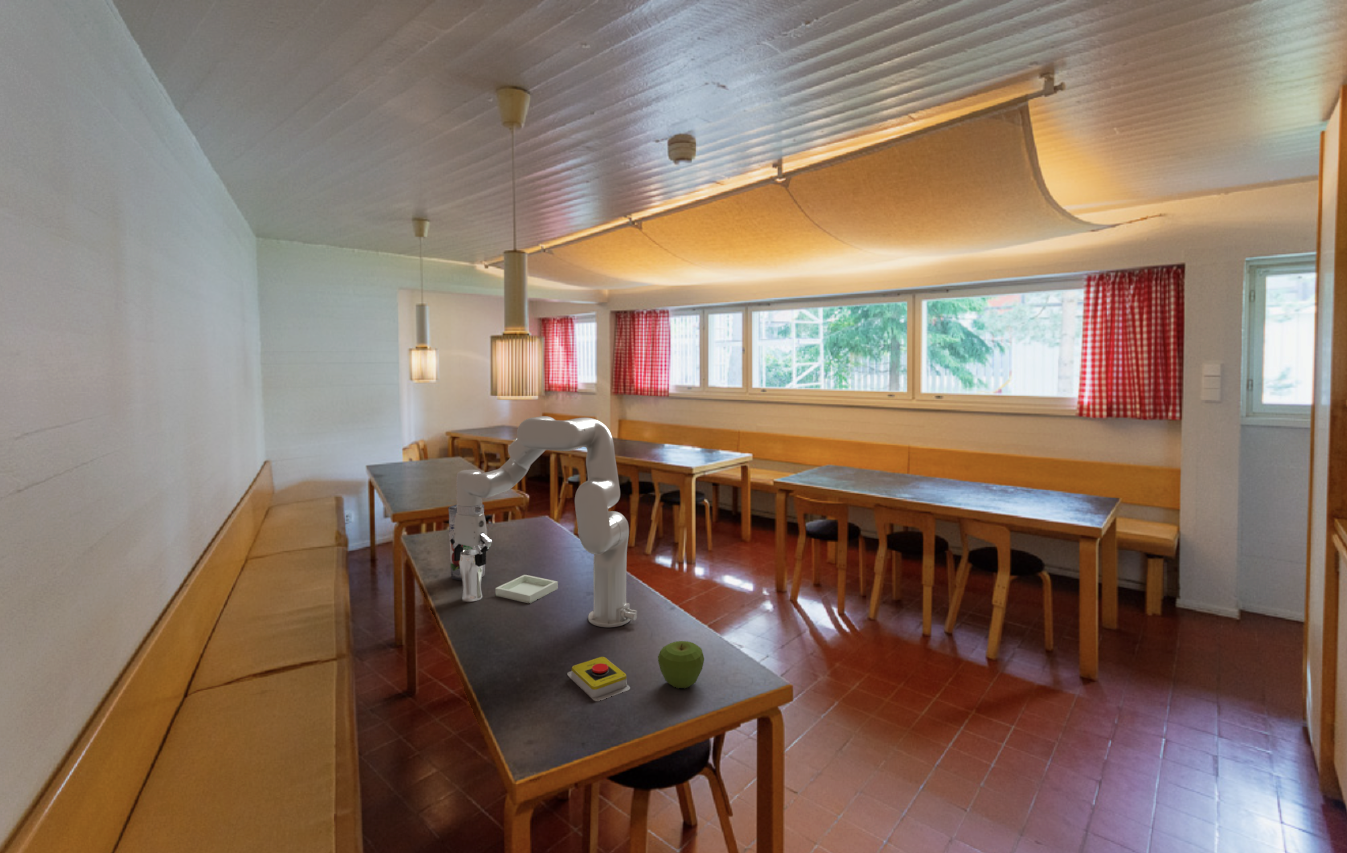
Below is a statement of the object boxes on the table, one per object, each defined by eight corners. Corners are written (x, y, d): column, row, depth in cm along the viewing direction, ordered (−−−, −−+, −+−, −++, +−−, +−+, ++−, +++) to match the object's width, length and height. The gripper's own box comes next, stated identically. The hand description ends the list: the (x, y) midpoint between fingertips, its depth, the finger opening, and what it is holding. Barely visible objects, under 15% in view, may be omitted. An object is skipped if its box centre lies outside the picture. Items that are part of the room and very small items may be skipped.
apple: (689, 668, 143) (690, 629, 142) (712, 689, 134) (713, 647, 133) (650, 679, 138) (650, 639, 137) (670, 701, 129) (671, 658, 128)
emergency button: (596, 685, 128) (565, 658, 140) (596, 704, 128) (565, 675, 141) (632, 673, 134) (599, 647, 146) (632, 691, 134) (599, 664, 146)
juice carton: (464, 571, 210) (462, 497, 207) (488, 575, 207) (487, 500, 204) (447, 580, 202) (444, 503, 199) (472, 584, 198) (470, 505, 196)
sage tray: (557, 588, 195) (557, 581, 194) (530, 603, 182) (529, 595, 182) (524, 581, 201) (524, 574, 200) (495, 595, 188) (495, 588, 188)
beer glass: (456, 598, 185) (454, 552, 184) (475, 592, 191) (474, 547, 189) (468, 604, 181) (467, 557, 180) (488, 597, 187) (487, 551, 185)
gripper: (499, 510, 183) (499, 564, 185) (458, 503, 190) (459, 554, 192) (481, 516, 176) (481, 571, 178) (440, 508, 184) (440, 561, 185)
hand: (470, 562), depth 185 cm, fingers open, 9 cm apart
